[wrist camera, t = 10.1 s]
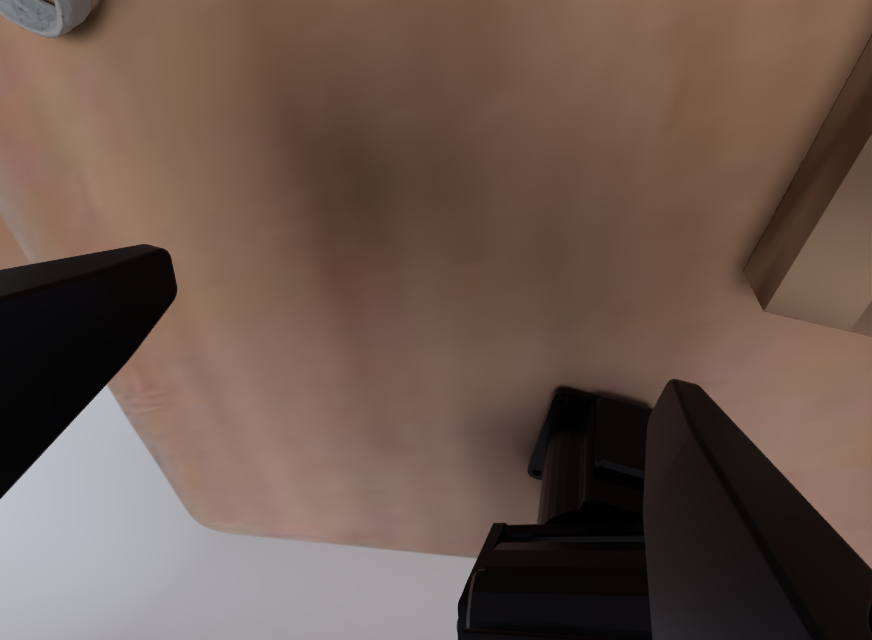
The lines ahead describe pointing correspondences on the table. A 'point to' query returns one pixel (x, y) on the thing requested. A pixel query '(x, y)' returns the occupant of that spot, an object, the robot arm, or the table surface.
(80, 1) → the ceramic mug
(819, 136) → the eye block
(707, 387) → the table surface
